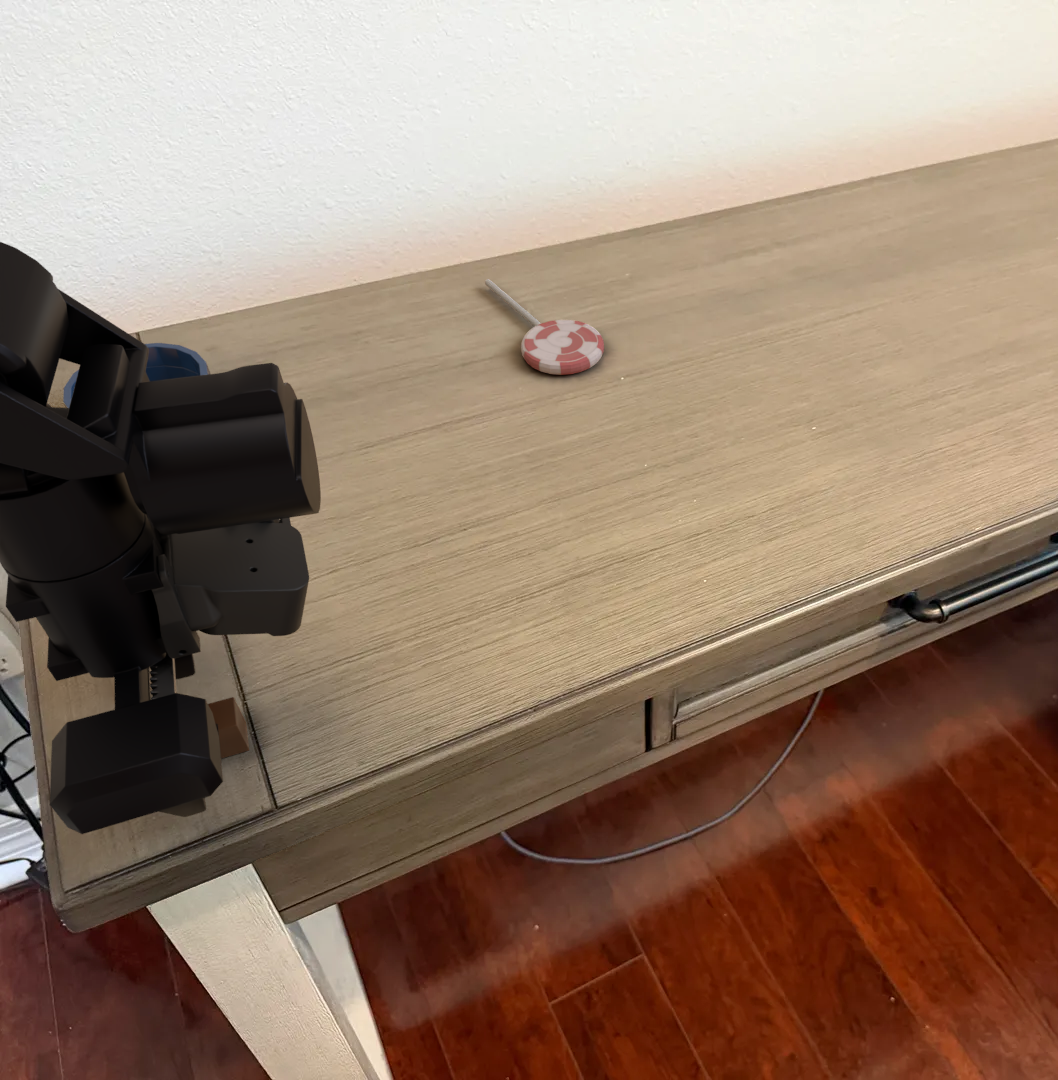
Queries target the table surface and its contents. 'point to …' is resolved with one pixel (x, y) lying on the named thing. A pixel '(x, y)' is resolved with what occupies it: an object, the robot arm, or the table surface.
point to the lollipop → (556, 342)
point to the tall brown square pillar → (230, 727)
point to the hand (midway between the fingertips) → (190, 739)
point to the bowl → (160, 366)
